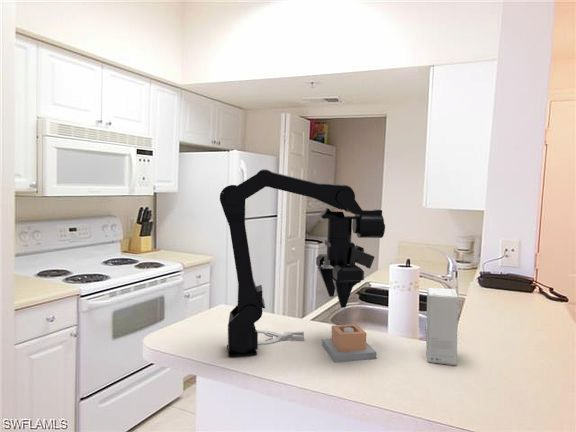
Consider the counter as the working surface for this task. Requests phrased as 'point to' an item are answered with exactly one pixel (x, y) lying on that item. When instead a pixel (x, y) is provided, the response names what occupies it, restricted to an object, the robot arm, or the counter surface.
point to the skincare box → (442, 326)
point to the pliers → (281, 337)
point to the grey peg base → (348, 355)
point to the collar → (348, 338)
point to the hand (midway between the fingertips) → (337, 301)
